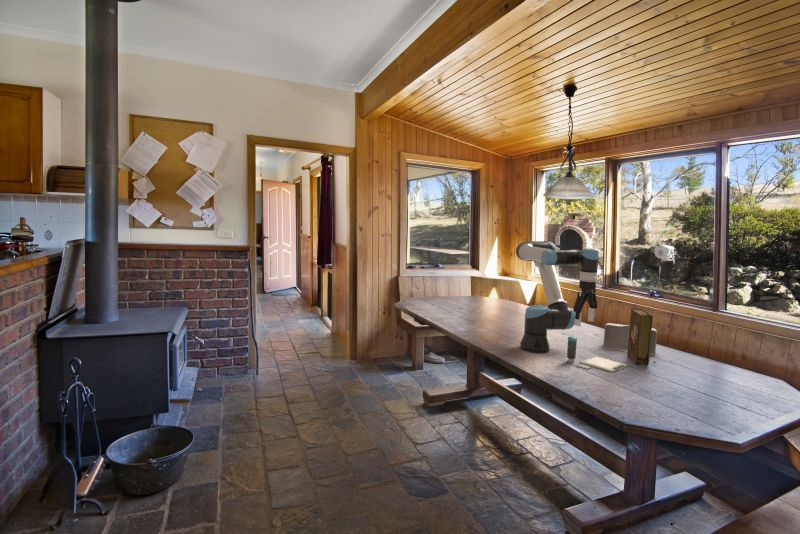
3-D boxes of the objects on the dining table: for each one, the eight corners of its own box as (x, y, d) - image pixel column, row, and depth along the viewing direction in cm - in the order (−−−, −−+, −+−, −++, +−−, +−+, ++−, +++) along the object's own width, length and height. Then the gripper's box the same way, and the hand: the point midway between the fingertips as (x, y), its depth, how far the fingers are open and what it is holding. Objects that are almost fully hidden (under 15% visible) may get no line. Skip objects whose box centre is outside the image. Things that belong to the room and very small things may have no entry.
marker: (564, 361, 222) (566, 337, 221) (569, 359, 225) (570, 336, 223) (572, 363, 219) (574, 339, 217) (577, 361, 221) (578, 338, 220)
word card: (575, 365, 215) (575, 365, 215) (579, 364, 218) (579, 363, 217) (587, 369, 210) (587, 368, 210) (591, 367, 213) (591, 366, 213)
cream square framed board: (579, 363, 219) (579, 360, 219) (595, 357, 229) (595, 354, 228) (612, 372, 207) (612, 369, 207) (627, 366, 216) (627, 363, 216)
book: (626, 355, 234) (630, 308, 231) (637, 356, 233) (641, 308, 230) (636, 365, 218) (640, 314, 215) (648, 366, 217) (653, 315, 214)
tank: (654, 348, 248) (656, 326, 247) (655, 356, 234) (657, 332, 233) (605, 341, 260) (606, 320, 258) (602, 348, 246) (604, 326, 244)
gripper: (583, 284, 204) (579, 329, 208) (607, 279, 221) (603, 320, 224) (567, 281, 210) (564, 325, 213) (592, 276, 227) (588, 317, 230)
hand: (584, 323), depth 219 cm, fingers open, 13 cm apart
